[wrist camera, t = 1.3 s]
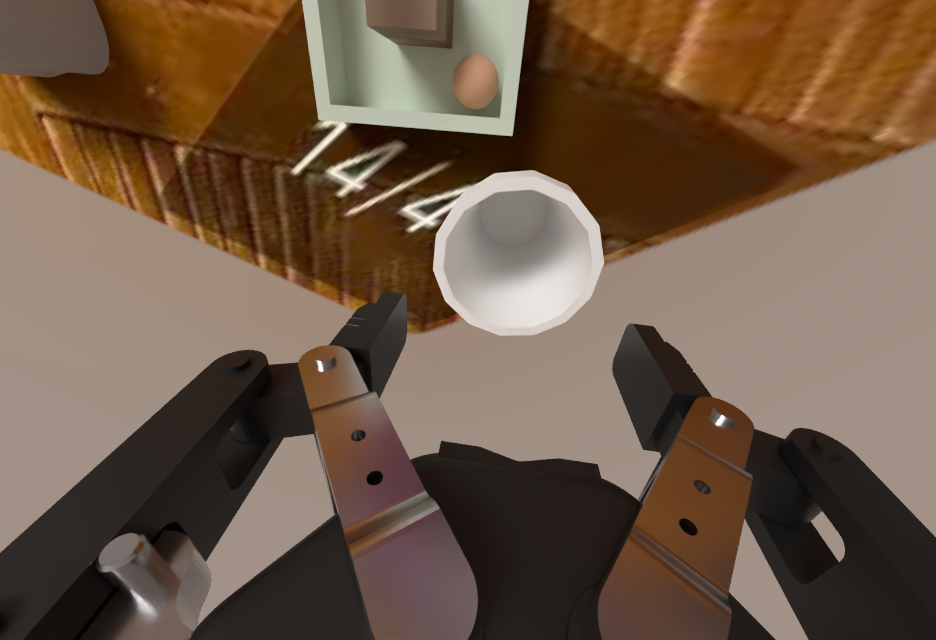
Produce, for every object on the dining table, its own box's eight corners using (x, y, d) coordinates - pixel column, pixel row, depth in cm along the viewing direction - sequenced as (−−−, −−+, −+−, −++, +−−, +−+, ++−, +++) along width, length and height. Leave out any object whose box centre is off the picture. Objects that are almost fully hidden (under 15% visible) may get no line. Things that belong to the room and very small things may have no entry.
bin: (545, -141, 20) (552, -195, 16) (512, 133, 27) (512, 136, 23) (313, -149, 20) (273, -201, 17) (342, 119, 28) (318, 119, 24)
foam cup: (492, 277, 33) (482, 356, 22) (442, 191, 30) (400, 235, 19) (585, 231, 30) (628, 297, 19) (542, 128, 27) (563, 136, 15)
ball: (501, 59, 24) (500, 51, 21) (496, 111, 26) (494, 110, 23) (457, 56, 24) (450, 48, 22) (455, 108, 26) (448, 107, 23)
